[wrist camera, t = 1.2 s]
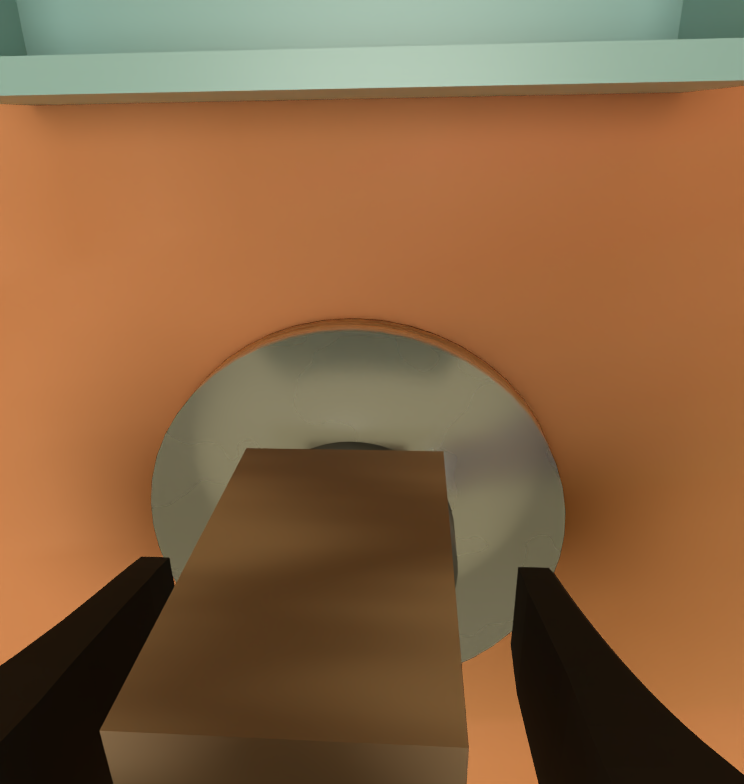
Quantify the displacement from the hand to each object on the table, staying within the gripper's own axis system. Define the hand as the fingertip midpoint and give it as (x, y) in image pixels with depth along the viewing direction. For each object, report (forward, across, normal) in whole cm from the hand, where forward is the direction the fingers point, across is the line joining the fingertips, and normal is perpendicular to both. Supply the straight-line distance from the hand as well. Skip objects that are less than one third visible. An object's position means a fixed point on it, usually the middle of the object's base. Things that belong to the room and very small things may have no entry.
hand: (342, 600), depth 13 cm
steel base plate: (+3, 0, 0) cm, 3 cm away
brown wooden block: (+2, 0, 0) cm, 2 cm away
